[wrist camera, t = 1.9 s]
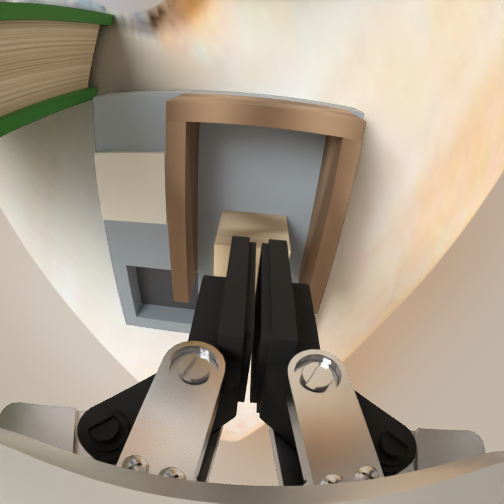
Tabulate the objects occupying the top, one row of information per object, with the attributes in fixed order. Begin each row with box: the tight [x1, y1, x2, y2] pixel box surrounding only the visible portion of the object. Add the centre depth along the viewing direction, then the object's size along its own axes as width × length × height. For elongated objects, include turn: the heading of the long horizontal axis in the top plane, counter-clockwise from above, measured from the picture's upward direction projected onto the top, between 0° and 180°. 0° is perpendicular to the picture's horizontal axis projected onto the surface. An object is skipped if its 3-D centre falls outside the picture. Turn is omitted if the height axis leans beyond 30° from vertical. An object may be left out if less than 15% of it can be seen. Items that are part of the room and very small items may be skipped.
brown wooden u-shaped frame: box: [166, 93, 366, 314], centre depth 22 cm, size 11×15×4 cm
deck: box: [93, 90, 364, 333], centre depth 27 cm, size 20×24×3 cm
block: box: [214, 210, 291, 292], centre depth 24 cm, size 5×5×5 cm
